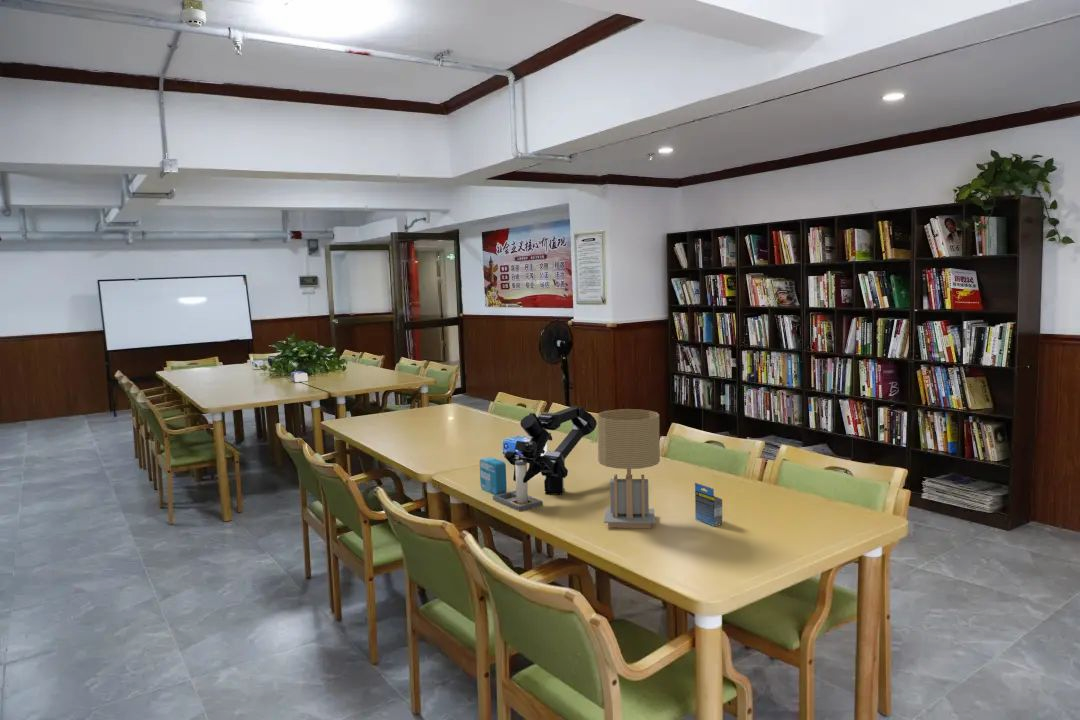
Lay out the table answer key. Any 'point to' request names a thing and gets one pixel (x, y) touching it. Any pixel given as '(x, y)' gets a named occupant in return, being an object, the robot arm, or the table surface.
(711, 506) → the label tape cartridge
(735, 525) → the table surface
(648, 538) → the table surface
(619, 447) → the desk lamp
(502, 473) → the blue box
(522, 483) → the white cylinder with cap
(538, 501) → the jack panel
